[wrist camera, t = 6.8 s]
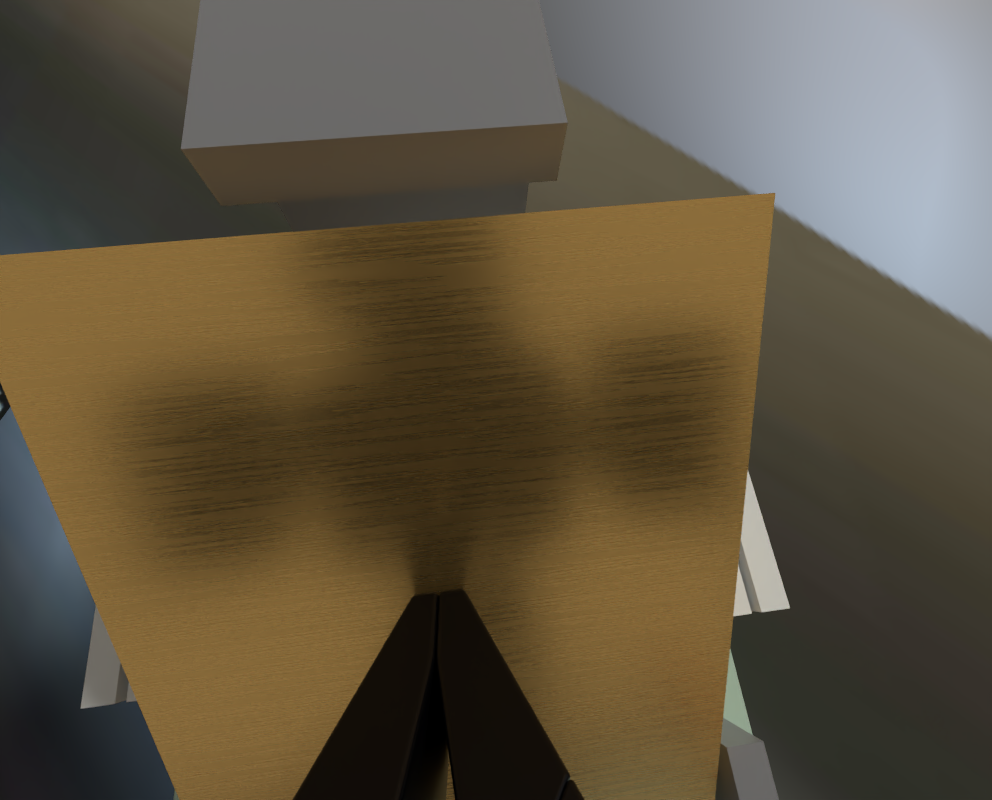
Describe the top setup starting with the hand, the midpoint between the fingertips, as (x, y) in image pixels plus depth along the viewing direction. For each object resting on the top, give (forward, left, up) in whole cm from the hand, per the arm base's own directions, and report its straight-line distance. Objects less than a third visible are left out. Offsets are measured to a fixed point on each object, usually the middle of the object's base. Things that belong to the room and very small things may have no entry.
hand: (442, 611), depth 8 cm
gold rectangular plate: (-4, -3, -4) cm, 6 cm away
